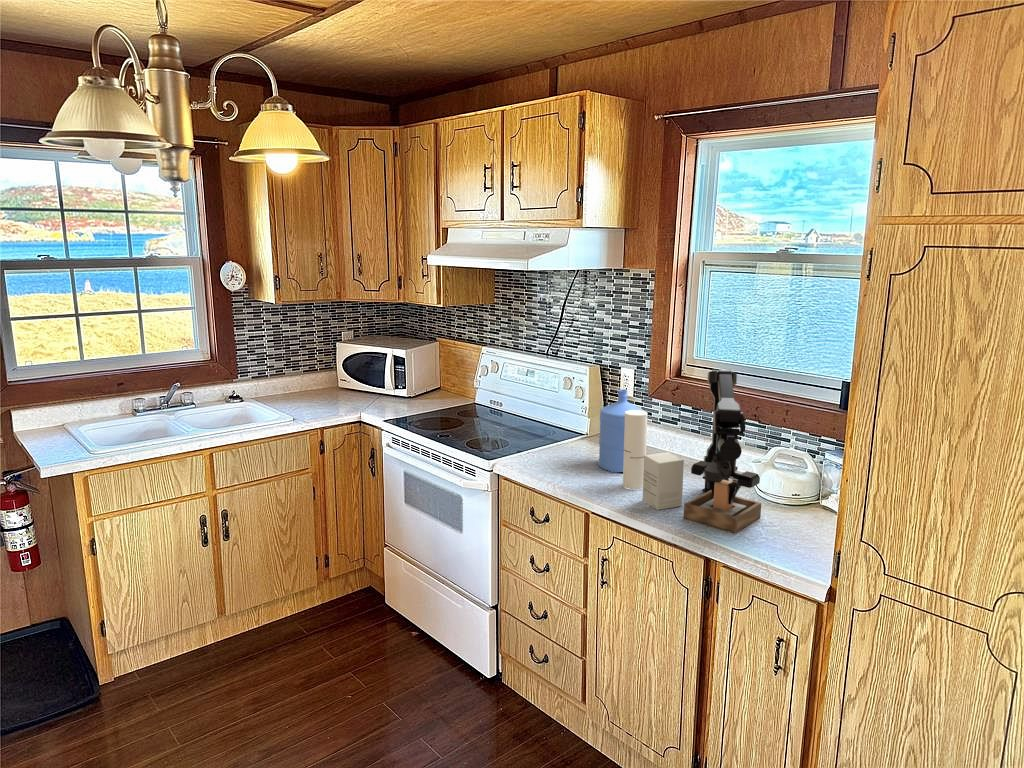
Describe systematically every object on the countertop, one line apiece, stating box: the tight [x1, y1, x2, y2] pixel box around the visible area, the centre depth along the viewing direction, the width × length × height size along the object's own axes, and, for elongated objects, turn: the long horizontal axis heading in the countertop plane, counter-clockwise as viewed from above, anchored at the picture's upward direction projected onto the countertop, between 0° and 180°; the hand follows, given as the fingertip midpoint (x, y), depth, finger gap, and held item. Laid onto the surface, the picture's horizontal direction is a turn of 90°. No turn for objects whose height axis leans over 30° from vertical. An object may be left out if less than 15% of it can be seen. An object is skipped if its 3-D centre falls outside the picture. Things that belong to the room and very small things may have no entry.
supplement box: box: [642, 451, 685, 511], centre depth 213 cm, size 9×9×15 cm
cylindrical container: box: [622, 410, 648, 490], centre depth 227 cm, size 7×7×25 cm
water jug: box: [598, 389, 644, 473], centre depth 247 cm, size 16×16×28 cm
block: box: [713, 480, 733, 511], centre depth 202 cm, size 4×4×8 cm
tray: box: [683, 490, 762, 535], centre depth 202 cm, size 16×16×4 cm
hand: (723, 501), depth 202 cm, fingers closed on block, 4 cm apart
